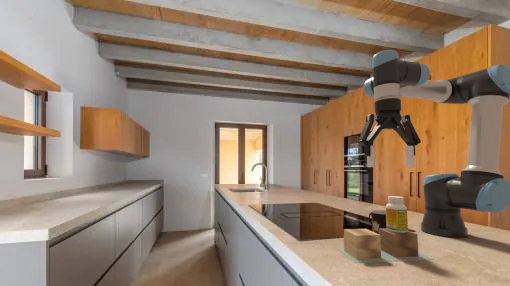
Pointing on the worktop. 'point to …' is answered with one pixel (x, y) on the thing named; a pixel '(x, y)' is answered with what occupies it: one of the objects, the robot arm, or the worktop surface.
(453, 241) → the worktop surface
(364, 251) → the oak block
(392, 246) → the tower block
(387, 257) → the building board
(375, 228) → the coffee mug
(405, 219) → the supplement bottle
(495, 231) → the worktop surface
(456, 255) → the worktop surface
